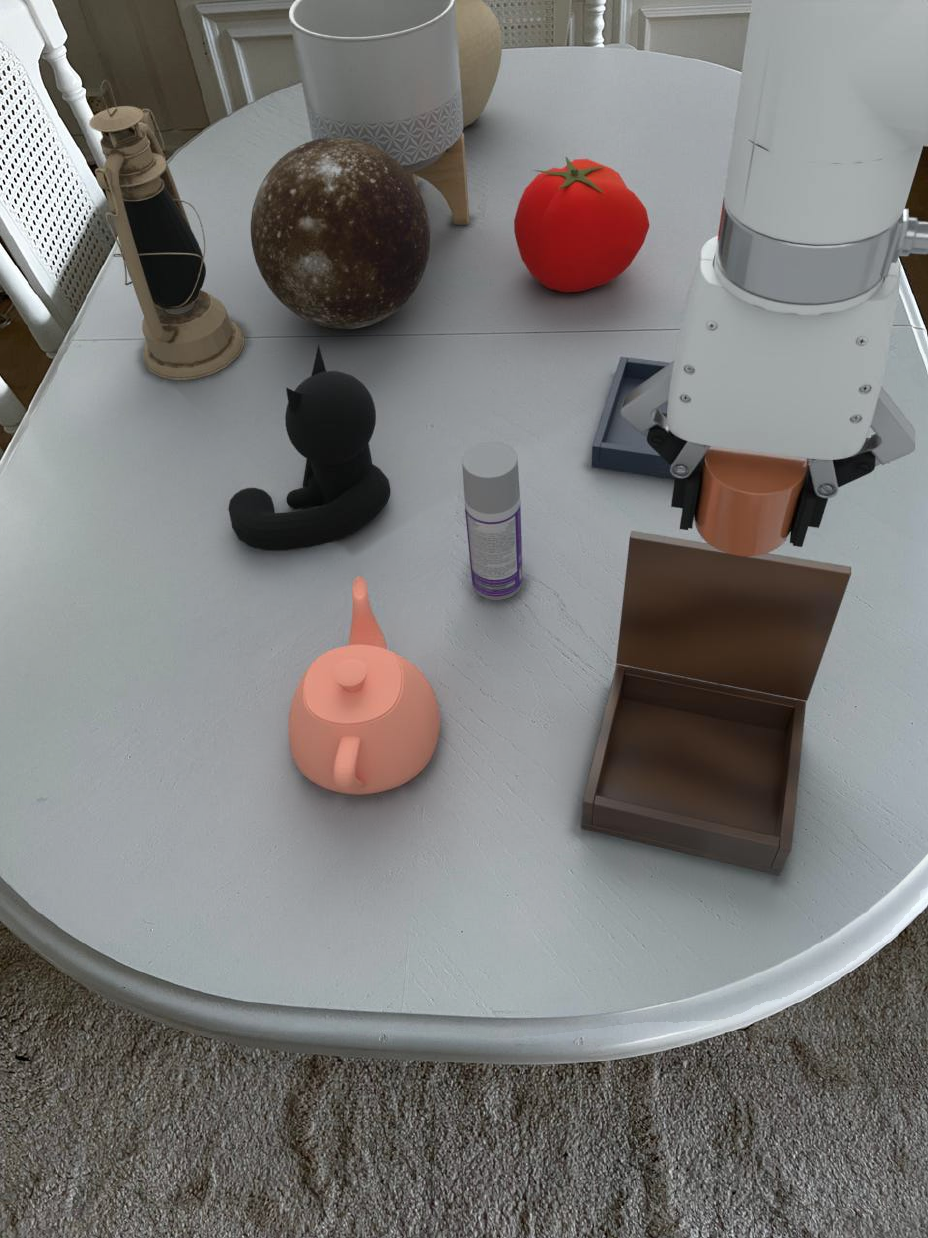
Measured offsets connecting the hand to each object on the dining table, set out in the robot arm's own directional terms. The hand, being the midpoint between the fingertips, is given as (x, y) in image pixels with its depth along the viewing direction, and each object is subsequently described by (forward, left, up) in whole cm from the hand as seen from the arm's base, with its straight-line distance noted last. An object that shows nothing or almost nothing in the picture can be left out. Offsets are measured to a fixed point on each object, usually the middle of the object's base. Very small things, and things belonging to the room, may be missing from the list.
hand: (742, 519), depth 57 cm
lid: (0, -3, -14) cm, 14 cm away
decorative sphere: (+48, -50, -26) cm, 74 cm away
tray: (+5, -37, -25) cm, 45 cm away
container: (+20, -13, -26) cm, 35 cm away
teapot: (+26, +5, -26) cm, 37 cm away
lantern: (+64, -39, -26) cm, 80 cm away
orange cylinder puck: (0, 0, 0) cm, 0 cm away
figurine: (+40, -18, -26) cm, 50 cm away
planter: (+49, -71, -26) cm, 90 cm away
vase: (+51, -99, -26) cm, 114 cm away
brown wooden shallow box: (0, +3, -25) cm, 26 cm away
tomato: (+23, -62, -26) cm, 71 cm away
